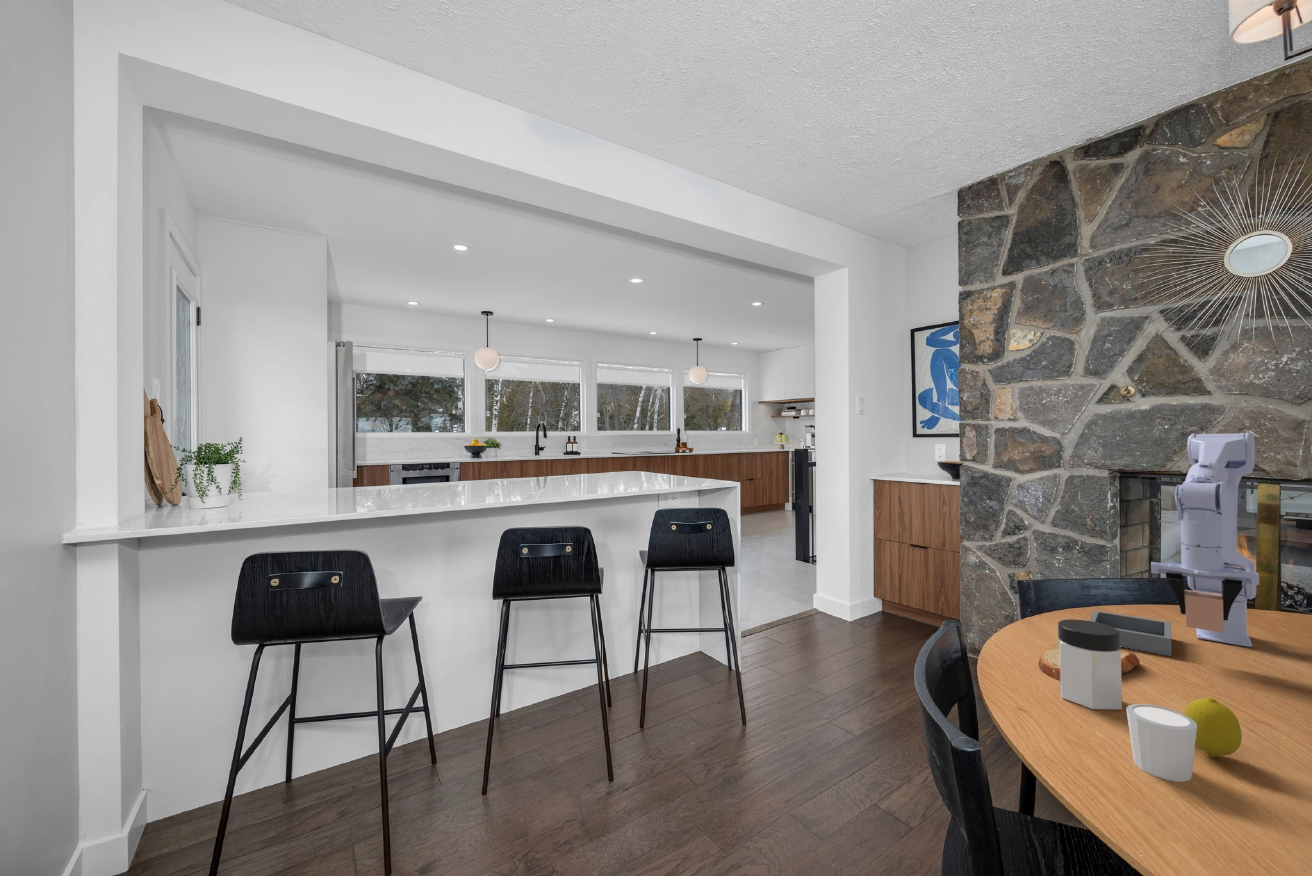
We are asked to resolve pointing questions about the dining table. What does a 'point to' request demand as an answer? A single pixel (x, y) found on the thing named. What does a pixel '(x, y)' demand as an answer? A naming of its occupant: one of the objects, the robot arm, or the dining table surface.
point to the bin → (1138, 632)
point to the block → (1204, 610)
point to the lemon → (1215, 727)
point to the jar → (1090, 664)
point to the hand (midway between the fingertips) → (1203, 615)
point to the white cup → (1162, 741)
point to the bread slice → (1051, 662)
